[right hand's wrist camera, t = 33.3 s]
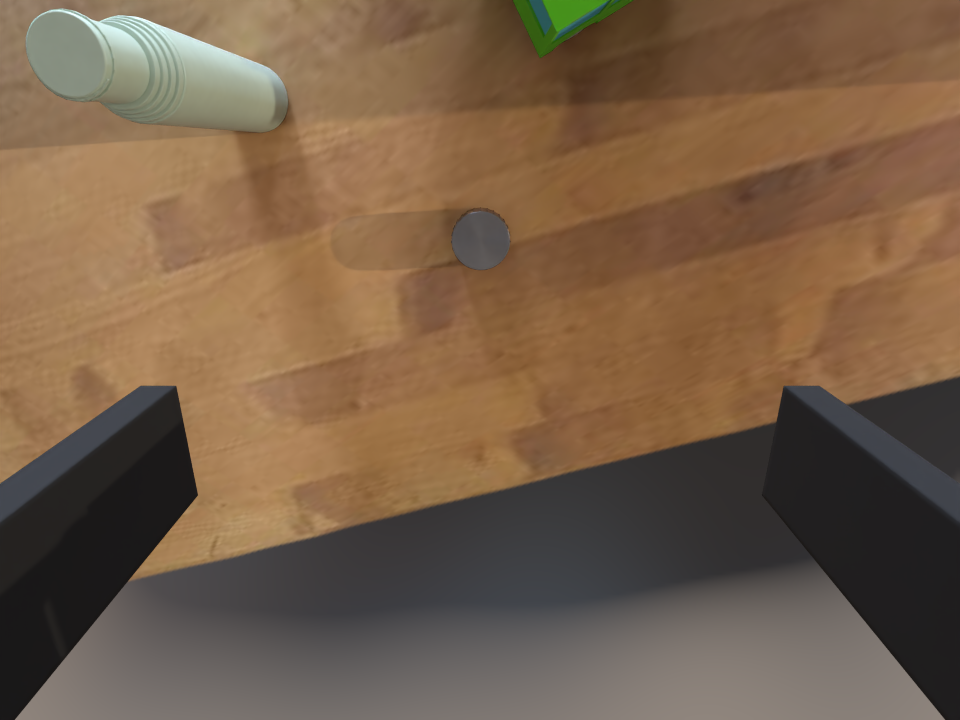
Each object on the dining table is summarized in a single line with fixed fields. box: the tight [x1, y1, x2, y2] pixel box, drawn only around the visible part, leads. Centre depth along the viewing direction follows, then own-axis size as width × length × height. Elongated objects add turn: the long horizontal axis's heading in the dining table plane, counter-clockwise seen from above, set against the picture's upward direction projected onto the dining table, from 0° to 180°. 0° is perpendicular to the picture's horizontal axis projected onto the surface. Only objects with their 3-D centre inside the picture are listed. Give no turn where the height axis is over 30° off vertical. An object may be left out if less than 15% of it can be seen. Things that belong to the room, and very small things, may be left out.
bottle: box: [26, 9, 288, 133], centre depth 30 cm, size 4×4×19 cm
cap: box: [451, 208, 510, 270], centre depth 42 cm, size 4×4×2 cm
